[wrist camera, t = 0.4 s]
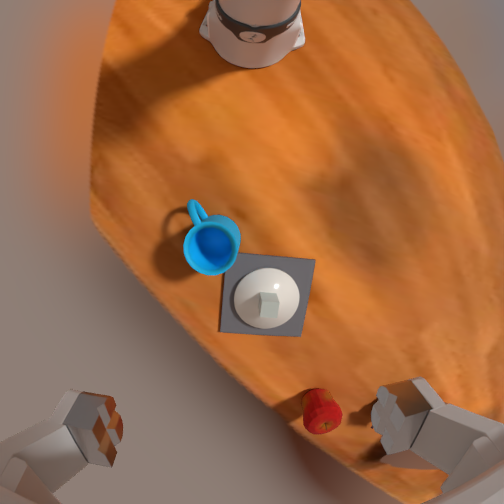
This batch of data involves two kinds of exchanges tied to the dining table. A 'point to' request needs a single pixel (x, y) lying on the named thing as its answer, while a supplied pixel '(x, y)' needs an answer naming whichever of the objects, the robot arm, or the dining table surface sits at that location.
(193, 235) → the mug
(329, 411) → the apple
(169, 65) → the dining table surface
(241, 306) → the lid
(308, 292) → the mat
